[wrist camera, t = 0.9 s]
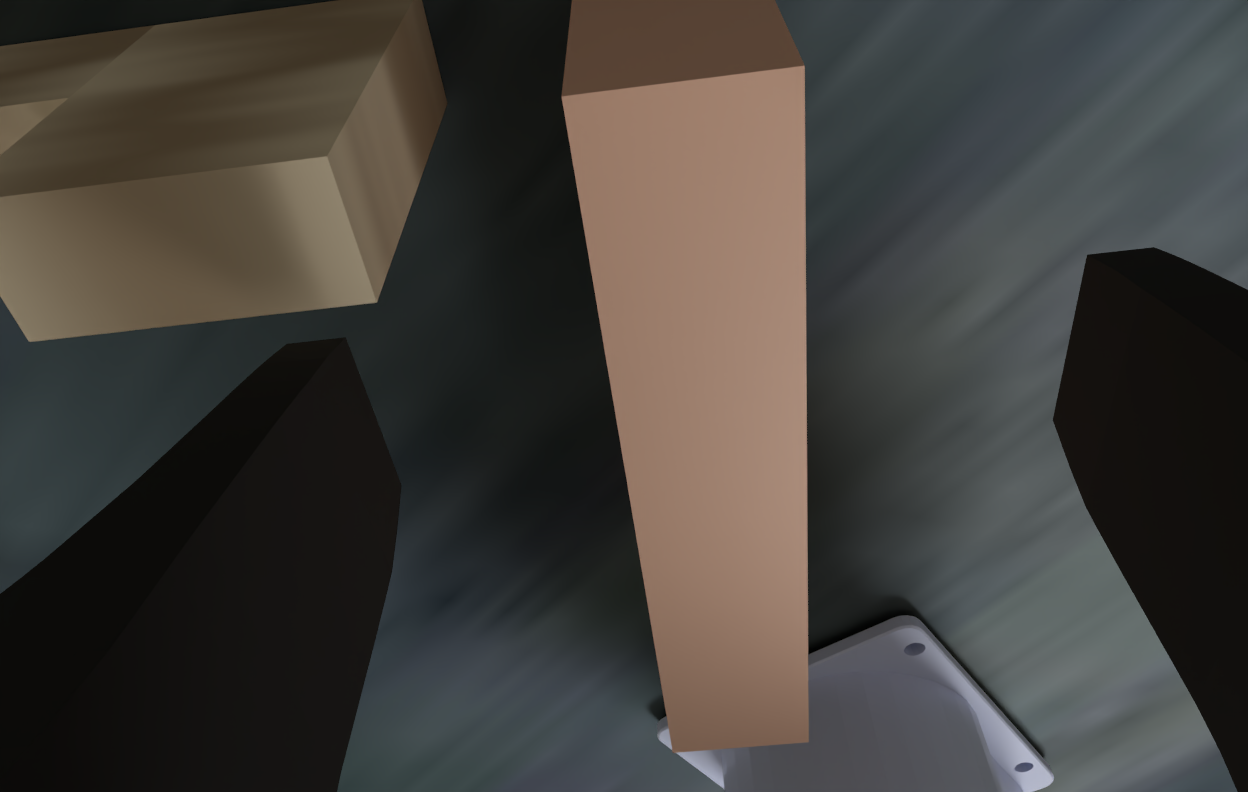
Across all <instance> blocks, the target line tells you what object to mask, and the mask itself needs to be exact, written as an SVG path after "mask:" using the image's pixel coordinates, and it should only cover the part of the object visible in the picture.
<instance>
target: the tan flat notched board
mask: <svg viewBox="0 0 1248 792" xmlns="http://www.w3.org/2000/svg"><path fill="white" fill-rule="evenodd" d="M562 102H563V108H564V114H565V120H566V126H567V132H568V138H569V143H570V149H571V155H572V161H573V167H574V173H575V179H576V185H577V191H578V197H579V202H580V208H581V214H582V220H583V226H584V232H585V238H586V244H587V250H588V256H589V261H590V267H591V273H592V279H593V285H594V291H595V297H596V303H597V309H598V315H599V320H600V326H601V332H602V338H603V344H604V350H605V356H606V362H607V368H608V374H609V379H610V385H611V391H612V397H613V403H614V409H615V415H616V421H617V427H618V433H619V438H620V444H621V450H622V456H623V462H624V468H625V474H626V480H627V486H628V492H629V497H630V503H631V509H632V515H633V521H634V527H635V533H636V539H637V545H638V550H639V556H640V562H641V568H642V574H643V580H644V586H645V592H646V598H647V604H648V609H649V615H650V621H651V627H652V633H653V639H654V645H655V651H656V657H657V663H658V668H659V674H660V680H661V686H662V692H663V698H664V704H665V710H666V716H667V722H668V727H669V733H670V739H671V745H672V751H673V753H678V752H691V751H704V750H716V749H729V748H742V747H755V746H768V745H781V744H793V743H806V742H809V700H808V538H807V376H806V214H805V65H804V63H803V61H802V59H801V57H800V54H799V52H798V50H797V48H796V46H795V44H794V41H793V39H792V37H791V35H790V33H789V30H788V28H787V26H786V24H785V22H784V19H783V17H782V15H781V13H780V11H779V8H778V6H777V4H776V2H775V0H572V5H571V14H570V23H569V33H568V42H567V51H566V60H565V69H564V78H563V88H562Z"/></svg>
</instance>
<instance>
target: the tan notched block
mask: <svg viewBox="0 0 1248 792" xmlns="http://www.w3.org/2000/svg"><path fill="white" fill-rule="evenodd" d="M446 106H447V100H446V96H445V92H444V88H443V83H442V79H441V75H440V71H439V67H438V63H437V59H436V55H435V51H434V47H433V43H432V39H431V35H430V31H429V27H428V23H427V19H426V15H425V11H424V7H423V3H422V0H336V1H329V2H321V3H314V4H307V5H299V6H292V7H285V8H277V9H270V10H263V11H255V12H248V13H241V14H233V15H226V16H219V17H211V18H204V19H196V20H189V21H182V22H174V23H167V24H160V25H152V26H145V27H138V28H130V29H123V30H116V31H108V32H101V33H94V34H86V35H79V36H72V37H64V38H57V39H50V40H42V41H35V42H28V43H20V44H13V45H6V46H0V297H1V298H2V300H3V301H4V303H5V304H6V306H7V308H8V309H9V311H10V312H11V314H12V316H13V317H14V319H15V320H16V322H17V323H18V325H19V327H20V328H21V330H22V331H23V333H24V335H25V336H26V338H27V339H28V341H29V342H34V341H43V340H52V339H61V338H69V337H78V336H87V335H96V334H105V333H113V332H122V331H131V330H140V329H149V328H158V327H166V326H175V325H184V324H193V323H202V322H210V321H219V320H228V319H237V318H246V317H255V316H263V315H272V314H281V313H290V312H299V311H307V310H316V309H325V308H334V307H343V306H352V305H360V304H369V303H377V301H378V298H379V295H380V292H381V290H382V287H383V284H384V281H385V278H386V275H387V273H388V270H389V267H390V264H391V261H392V259H393V256H394V253H395V250H396V247H397V244H398V242H399V239H400V236H401V233H402V230H403V227H404V225H405V222H406V219H407V216H408V213H409V210H410V208H411V205H412V202H413V199H414V196H415V194H416V191H417V188H418V185H419V182H420V179H421V177H422V174H423V171H424V168H425V165H426V162H427V160H428V157H429V154H430V151H431V148H432V145H433V143H434V140H435V137H436V134H437V131H438V128H439V126H440V123H441V120H442V117H443V114H444V112H445V109H446Z"/></svg>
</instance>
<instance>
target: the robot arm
mask: <svg viewBox="0 0 1248 792" xmlns="http://www.w3.org/2000/svg"><path fill="white" fill-rule="evenodd" d="M1053 422H1054V424H1055V427H1056V430H1057V433H1058V436H1059V438H1060V441H1061V444H1062V447H1063V449H1064V452H1065V455H1066V458H1067V460H1068V463H1069V466H1070V469H1071V471H1072V474H1073V476H1074V479H1075V481H1076V484H1077V486H1078V489H1079V491H1080V494H1081V496H1082V499H1083V501H1084V504H1085V506H1086V508H1087V510H1088V512H1089V514H1090V516H1091V517H1092V519H1093V521H1094V523H1095V525H1096V527H1097V529H1098V530H1099V532H1100V534H1101V536H1102V538H1103V539H1104V541H1105V543H1106V545H1107V547H1108V549H1109V550H1110V552H1111V554H1112V556H1113V558H1114V559H1115V561H1116V563H1117V565H1118V567H1119V568H1120V570H1121V572H1122V574H1123V576H1124V577H1125V579H1126V581H1127V583H1128V585H1129V586H1130V588H1131V590H1132V592H1133V593H1134V595H1135V597H1136V599H1137V600H1138V602H1139V604H1140V606H1141V608H1142V609H1143V611H1144V613H1145V615H1146V616H1147V618H1148V620H1149V622H1150V623H1151V625H1152V627H1153V629H1154V630H1155V632H1156V634H1157V636H1158V638H1159V639H1160V641H1161V643H1162V645H1163V646H1164V648H1165V650H1166V652H1167V654H1168V655H1169V657H1170V659H1171V661H1172V662H1173V664H1174V666H1175V668H1176V669H1177V671H1178V673H1179V675H1180V677H1181V678H1182V680H1183V682H1184V684H1185V685H1186V687H1187V689H1188V691H1189V692H1190V694H1191V696H1192V698H1193V700H1194V701H1195V703H1196V705H1197V707H1198V709H1199V711H1200V713H1201V715H1202V717H1203V719H1204V721H1205V723H1206V725H1207V727H1208V728H1209V730H1210V732H1211V734H1212V736H1213V738H1214V740H1215V742H1216V744H1217V746H1218V748H1219V750H1220V752H1221V754H1222V757H1223V759H1224V761H1225V764H1226V766H1227V768H1228V770H1229V773H1230V775H1231V777H1232V780H1233V782H1234V784H1235V787H1236V789H1237V791H1238V792H1248V290H1247V289H1245V288H1243V287H1241V286H1239V285H1237V284H1235V283H1233V282H1231V281H1228V280H1226V279H1224V278H1222V277H1220V276H1218V275H1216V274H1214V273H1212V272H1210V271H1208V270H1206V269H1204V268H1201V267H1199V266H1197V265H1195V264H1193V263H1191V262H1188V261H1186V260H1184V259H1182V258H1179V257H1177V256H1175V255H1172V254H1170V253H1167V252H1165V251H1162V250H1159V249H1157V248H1154V247H1153V248H1144V249H1135V250H1126V251H1117V252H1108V253H1099V254H1090V255H1087V258H1086V263H1085V268H1084V273H1083V277H1082V282H1081V287H1080V292H1079V297H1078V301H1077V306H1076V311H1075V316H1074V321H1073V326H1072V330H1071V335H1070V340H1069V345H1068V350H1067V354H1066V359H1065V364H1064V369H1063V374H1062V378H1061V383H1060V388H1059V393H1058V398H1057V403H1056V407H1055V412H1054V417H1053ZM400 494H401V483H400V480H399V478H398V475H397V472H396V470H395V467H394V464H393V462H392V459H391V457H390V454H389V451H388V449H387V446H386V443H385V441H384V438H383V435H382V433H381V430H380V427H379V425H378V422H377V419H376V417H375V414H374V412H373V409H372V406H371V404H370V401H369V398H368V396H367V393H366V390H365V388H364V385H363V382H362V380H361V377H360V374H359V372H358V369H357V366H356V364H355V361H354V359H353V356H352V353H351V351H350V348H349V345H348V343H347V340H346V338H337V339H328V340H319V341H310V342H301V343H292V344H286V345H285V346H284V347H282V348H281V349H280V350H279V351H277V352H276V353H275V354H274V355H272V356H271V357H270V358H269V359H268V360H266V361H265V362H264V363H263V364H262V365H261V366H260V367H258V368H257V369H256V370H255V371H254V372H253V373H252V374H251V375H250V376H248V377H247V378H246V379H245V380H244V381H243V382H242V383H241V384H240V385H239V386H238V387H236V388H235V389H234V390H233V391H232V392H231V393H230V394H229V395H228V396H227V397H226V398H225V399H224V400H223V401H222V402H220V403H219V404H218V405H217V406H216V407H215V408H214V409H213V410H212V411H211V412H210V413H209V414H208V415H207V416H206V417H205V418H203V419H202V420H201V421H200V422H199V423H198V424H197V425H196V426H195V427H194V428H193V429H192V430H191V431H189V432H188V433H187V434H186V435H185V436H184V437H183V438H182V439H181V440H180V441H179V442H178V443H176V444H175V445H174V446H173V447H172V448H171V449H170V450H169V451H168V452H167V453H166V454H165V455H164V456H162V457H161V458H160V459H159V460H158V461H157V462H156V463H155V464H154V465H153V466H152V467H151V468H149V469H148V470H147V471H146V472H145V473H144V474H143V475H142V476H141V477H140V478H139V479H137V480H136V481H135V482H134V483H133V484H132V485H131V486H129V487H128V488H127V489H126V490H125V491H124V492H122V493H121V494H120V495H119V496H118V497H117V498H115V499H114V500H113V501H112V502H111V503H110V504H108V505H107V506H106V507H105V508H104V509H103V510H101V511H100V512H99V513H98V514H97V515H96V516H94V517H93V518H92V519H91V520H90V521H89V522H87V523H86V524H85V525H84V526H83V527H82V528H80V529H79V530H78V531H77V532H76V533H75V534H73V535H72V536H71V537H70V538H69V539H68V540H66V541H65V542H64V543H63V544H62V545H61V546H59V547H58V548H57V549H56V550H55V551H54V552H52V553H51V554H50V555H49V556H48V557H47V558H45V559H44V560H43V561H42V562H40V563H39V564H38V565H37V566H35V567H34V568H33V569H32V570H30V571H29V572H28V573H27V574H25V575H24V576H23V577H22V578H20V579H19V580H18V581H16V582H15V583H14V584H13V585H11V586H10V587H9V588H7V589H6V590H5V591H4V592H2V593H1V594H0V792H337V788H338V784H339V779H340V774H341V770H342V766H343V762H344V758H345V755H346V751H347V747H348V743H349V739H350V735H351V731H352V728H353V724H354V720H355V716H356V712H357V708H358V704H359V700H360V697H361V693H362V689H363V685H364V681H365V677H366V673H367V669H368V666H369V662H370V658H371V654H372V650H373V646H374V642H375V638H376V634H377V630H378V626H379V622H380V618H381V614H382V610H383V606H384V602H385V598H386V594H387V590H388V586H389V582H390V577H391V573H392V567H393V559H394V551H395V543H396V535H397V525H398V515H399V504H400ZM808 700H809V742H806V743H793V744H781V745H768V746H755V747H742V748H729V749H716V750H704V751H691V752H678V753H677V754H678V755H680V756H681V757H682V758H684V759H685V760H686V761H688V762H689V763H690V764H692V765H693V766H694V767H696V768H697V769H698V770H700V771H701V772H702V773H704V774H705V775H706V776H708V777H709V778H710V779H712V780H713V781H714V782H716V783H717V784H718V785H720V786H721V787H722V788H724V790H725V792H1033V791H1036V790H1039V789H1042V788H1045V787H1047V786H1049V785H1050V784H1051V783H1052V782H1053V780H1054V776H1053V773H1052V771H1051V768H1050V765H1049V764H1048V763H1047V762H1046V761H1045V760H1044V758H1043V757H1042V756H1041V755H1040V754H1039V753H1038V752H1037V751H1036V749H1035V748H1034V747H1033V746H1032V745H1031V744H1030V743H1029V742H1028V741H1027V739H1026V738H1025V737H1024V736H1023V735H1022V734H1021V733H1020V732H1019V730H1018V729H1017V728H1016V727H1015V726H1014V725H1013V724H1012V723H1011V721H1010V720H1009V719H1008V718H1007V717H1006V716H1005V715H1004V714H1003V712H1002V711H1001V710H1000V709H999V708H998V707H997V706H996V705H995V703H994V702H993V701H992V700H991V699H990V698H989V697H988V696H987V694H986V693H985V692H984V691H983V690H982V689H981V688H980V687H979V686H978V684H977V683H976V682H975V681H974V680H973V679H972V678H971V677H970V675H969V674H968V673H967V672H966V671H965V670H964V669H963V668H962V666H961V665H960V664H959V663H958V662H957V661H956V660H955V659H954V657H953V656H952V655H951V654H950V653H949V652H948V651H947V650H946V648H945V647H944V646H943V645H942V644H941V643H940V642H939V641H938V639H937V638H936V637H935V636H934V635H933V634H932V633H931V632H930V631H929V629H928V628H927V627H926V626H925V625H924V624H923V623H922V622H921V620H919V619H918V618H916V617H914V616H909V615H900V616H897V617H893V618H891V619H889V620H887V621H884V622H882V623H880V624H877V625H875V626H873V627H870V628H868V629H866V630H864V631H861V632H859V633H857V634H854V635H852V636H850V637H847V638H845V639H843V640H840V641H838V642H836V643H834V644H831V645H829V646H827V647H824V648H822V649H820V650H817V651H815V652H813V653H811V654H808ZM657 734H658V739H659V740H660V741H661V742H662V743H664V744H665V745H666V746H668V747H669V748H670V749H672V745H671V739H670V733H669V727H668V722H667V716H665V717H664V718H662V719H661V720H659V722H658V724H657Z"/></svg>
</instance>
